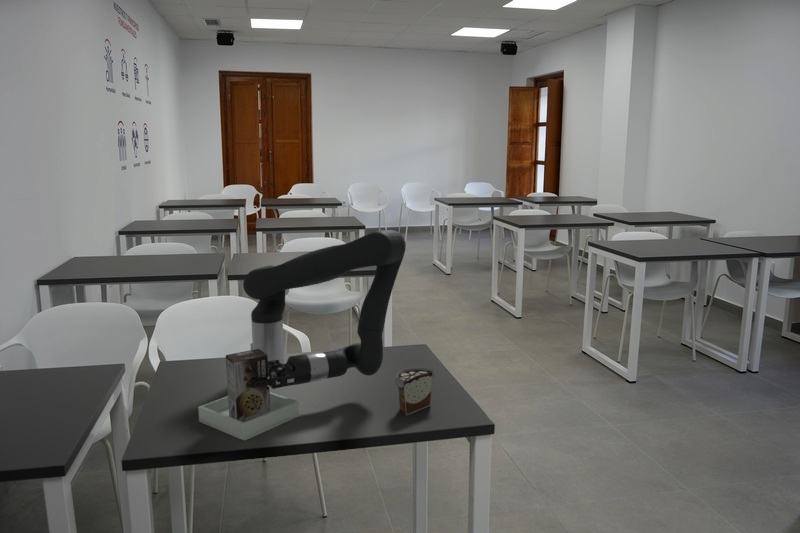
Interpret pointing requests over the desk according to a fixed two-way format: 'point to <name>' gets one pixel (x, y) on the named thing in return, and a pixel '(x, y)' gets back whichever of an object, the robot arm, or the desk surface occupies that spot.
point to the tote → (221, 420)
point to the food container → (414, 389)
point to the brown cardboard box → (247, 385)
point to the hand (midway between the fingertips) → (246, 378)
